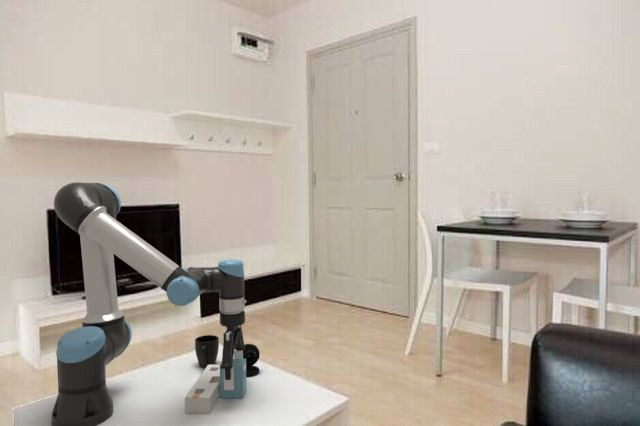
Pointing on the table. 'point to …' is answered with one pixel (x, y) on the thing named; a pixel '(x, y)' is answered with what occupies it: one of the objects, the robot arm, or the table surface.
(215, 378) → the power strip
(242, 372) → the charger
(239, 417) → the table surface
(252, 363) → the webcam
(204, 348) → the mug
